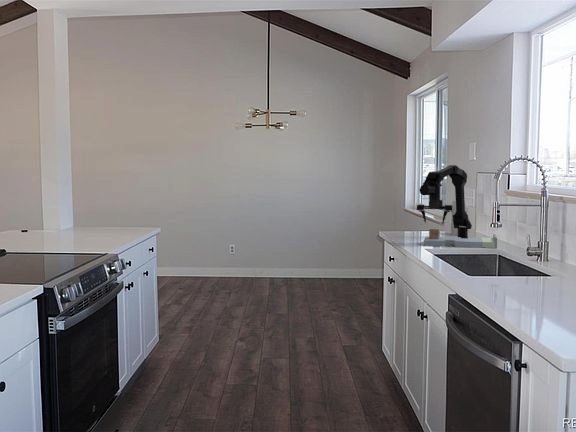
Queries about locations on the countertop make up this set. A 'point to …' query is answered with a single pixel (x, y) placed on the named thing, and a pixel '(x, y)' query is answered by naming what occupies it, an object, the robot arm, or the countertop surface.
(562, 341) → the countertop surface
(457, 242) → the deck
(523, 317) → the countertop surface
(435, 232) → the block
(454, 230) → the tall pale column
